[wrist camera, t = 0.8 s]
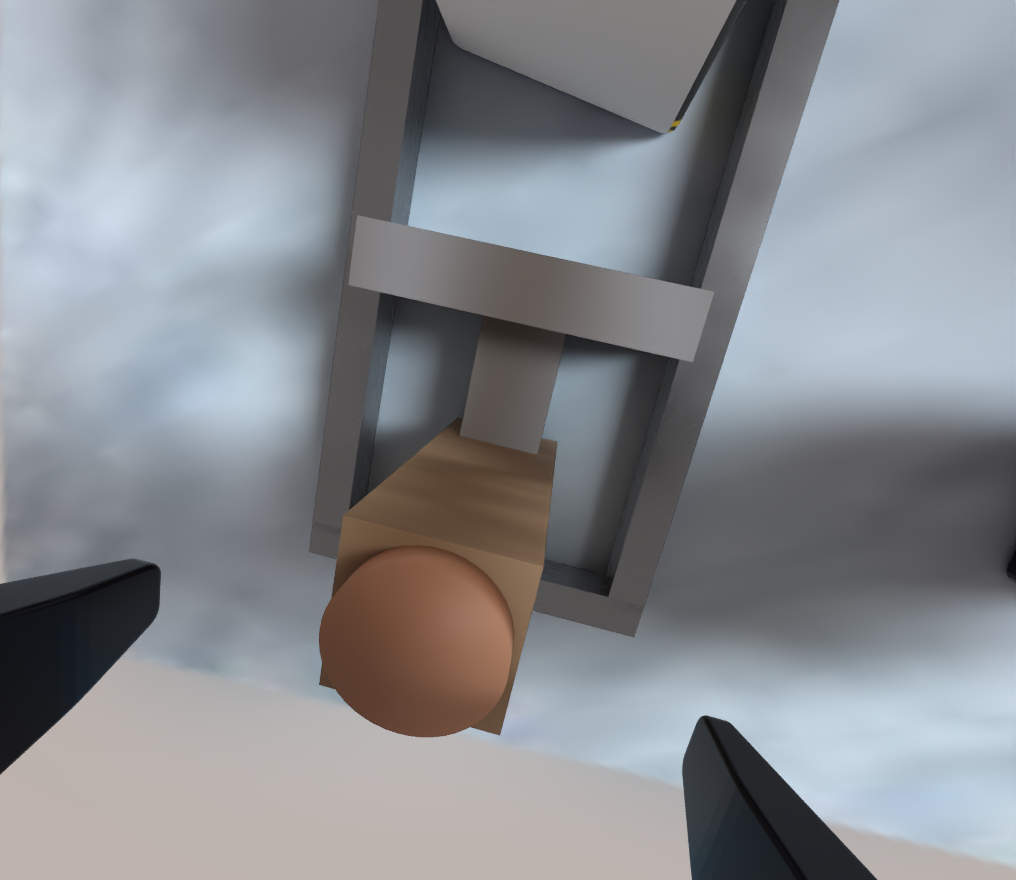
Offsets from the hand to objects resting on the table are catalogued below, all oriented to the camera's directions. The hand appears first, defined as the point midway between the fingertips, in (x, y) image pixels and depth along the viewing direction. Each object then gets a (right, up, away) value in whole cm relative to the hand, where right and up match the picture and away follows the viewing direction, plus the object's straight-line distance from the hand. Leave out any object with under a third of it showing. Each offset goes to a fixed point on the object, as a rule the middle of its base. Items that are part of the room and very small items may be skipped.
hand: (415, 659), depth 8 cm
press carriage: (+2, +5, +9) cm, 10 cm away
